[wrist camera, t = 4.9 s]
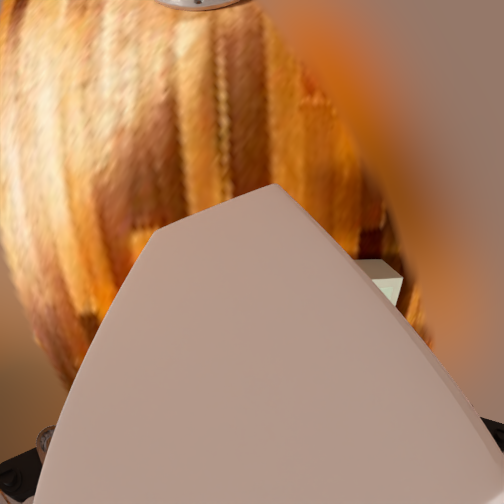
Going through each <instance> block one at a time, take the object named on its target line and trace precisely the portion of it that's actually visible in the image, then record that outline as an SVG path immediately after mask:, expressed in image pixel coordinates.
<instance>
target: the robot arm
mask: <svg viewBox="0 0 504 504" xmlns="http://www.w3.org/2000/svg"><path fill="white" fill-rule="evenodd" d="M154 1H156V2H157V3H159V4H161V5H164V6H166V7H169V8H173V9H177V10H187V11H203V10H210V9H216V8H220V7H224V6H228V5H231V4H233V3H236V2H238V1H240V0H154ZM198 3H201V4H198ZM470 404H471V403H470ZM471 405H472V404H471ZM472 407H473V406H472ZM480 418H481V420H482V421H483V423H484V424H485V426H486V428H487V429H488V431H489V432H490V434H491V435H492V437H493V438H494V440H495V442H496V443H497V445H498V447H499V448H500V450H501V452H502V453H503V455H504V424H502V423H499V422H495V421H492V420H488V419H485V418H482V417H480ZM55 428H56V426H55V425H53V426H49V427H46V428H45V429H43V430H42V431H41V432H40V433H39V435H38V437H37V440H36V448H33V449H31V450H29V451H27V452H25V453H22V454H20V455H18V456H16V457H14V458H11V459H9V460H7V461H4V462H3V463H1V464H0V504H33V501H34V497H35V493H36V489H37V485H38V481H39V478H40V474H41V471H42V467H43V464H44V461H45V457H46V454H47V451H48V448H49V445H50V442H51V439H52V436H53V433H54V431H55Z"/></svg>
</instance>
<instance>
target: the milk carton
mask: <svg viewBox="0 0 504 504" xmlns="http://www.w3.org/2000/svg"><path fill="white" fill-rule="evenodd" d="M33 504H504V455H503V453H502V452H501V450H500V448H499V447H498V445H497V443H496V442H495V440H494V438H493V437H492V435H491V434H490V432H489V431H488V429H487V428H486V426H485V424H484V423H483V421H482V420H481V418H480V417H479V415H478V414H477V412H476V411H475V410H474V408H473V407H472V405H471V404H470V402H469V401H468V399H467V398H466V397H465V395H464V394H463V392H462V391H461V390H460V389H459V387H458V385H457V384H456V383H455V381H454V380H453V379H452V377H451V376H450V375H449V373H448V372H447V371H446V369H445V368H444V367H443V366H442V364H441V363H440V361H439V360H438V359H437V358H436V356H435V355H434V354H433V352H432V351H431V350H430V348H429V347H428V346H427V345H426V343H425V342H424V341H423V340H422V338H421V337H420V336H419V335H418V334H417V332H416V331H415V330H414V329H413V327H412V326H411V325H410V324H409V323H408V321H407V320H406V319H405V318H404V317H403V315H402V314H401V313H400V312H399V311H398V310H397V308H396V307H395V306H394V305H393V304H392V303H391V301H390V300H389V299H388V298H387V297H386V296H385V294H384V293H383V292H382V291H381V290H380V289H379V288H378V287H377V285H376V284H375V283H374V282H373V281H372V280H371V279H370V278H369V276H368V275H367V274H366V273H365V272H364V271H363V270H362V269H361V268H360V267H359V266H358V264H357V263H356V262H355V261H354V260H353V259H352V258H351V257H350V256H349V255H348V254H347V253H346V252H345V251H344V249H343V248H342V247H341V246H340V245H339V244H338V243H337V242H336V241H335V240H334V239H333V238H332V237H331V236H330V235H329V234H328V233H327V232H326V231H325V230H324V229H323V228H322V227H321V226H320V225H319V224H318V223H317V222H316V221H315V220H314V219H313V218H312V217H311V216H310V215H309V214H308V213H307V212H306V211H305V210H304V209H303V208H302V207H301V206H300V205H299V204H298V203H297V202H296V201H295V200H294V199H293V198H292V197H291V196H290V195H289V194H288V193H287V192H286V191H285V190H284V189H283V188H282V187H281V186H279V185H278V184H271V185H268V186H265V187H263V188H260V189H257V190H254V191H252V192H249V193H246V194H244V195H241V196H239V197H236V198H233V199H231V200H228V201H226V202H223V203H221V204H218V205H216V206H213V207H210V208H208V209H206V210H203V211H201V212H198V213H196V214H193V215H191V216H188V217H186V218H184V219H181V220H179V221H177V222H174V223H172V224H169V225H167V226H165V227H163V228H160V229H158V230H157V231H155V232H154V233H153V235H152V236H151V238H150V239H149V241H148V243H147V244H146V246H145V247H144V249H143V251H142V252H141V254H140V256H139V257H138V259H137V261H136V262H135V264H134V266H133V267H132V269H131V271H130V272H129V274H128V276H127V278H126V279H125V281H124V283H123V285H122V286H121V288H120V290H119V292H118V294H117V295H116V297H115V299H114V301H113V303H112V304H111V306H110V308H109V310H108V312H107V314H106V316H105V318H104V320H103V322H102V323H101V325H100V327H99V329H98V331H97V333H96V335H95V337H94V339H93V341H92V343H91V346H90V348H89V350H88V352H87V354H86V356H85V358H84V360H83V362H82V365H81V367H80V369H79V371H78V374H77V376H76V378H75V380H74V383H73V385H72V387H71V390H70V392H69V394H68V397H67V400H66V402H65V404H64V407H63V409H62V412H61V415H60V417H59V420H58V422H57V425H56V428H55V431H54V433H53V436H52V439H51V442H50V445H49V448H48V451H47V454H46V457H45V461H44V464H43V467H42V471H41V474H40V478H39V481H38V485H37V489H36V493H35V497H34V501H33Z"/></svg>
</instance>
